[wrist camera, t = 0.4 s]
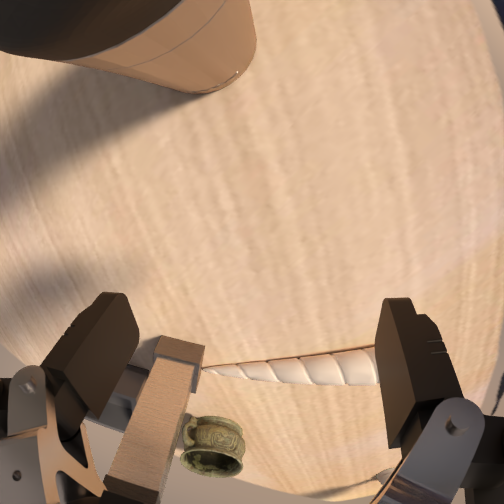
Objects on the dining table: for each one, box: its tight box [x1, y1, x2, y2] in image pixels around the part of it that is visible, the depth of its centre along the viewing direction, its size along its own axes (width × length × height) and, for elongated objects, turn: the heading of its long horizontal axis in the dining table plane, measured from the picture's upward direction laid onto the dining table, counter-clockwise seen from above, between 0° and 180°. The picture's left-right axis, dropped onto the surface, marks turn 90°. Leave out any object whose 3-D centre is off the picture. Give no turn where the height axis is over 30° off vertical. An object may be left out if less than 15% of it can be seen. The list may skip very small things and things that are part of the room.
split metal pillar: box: [103, 335, 205, 504], centre depth 25 cm, size 5×5×20 cm
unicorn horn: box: [202, 347, 380, 386], centre depth 32 cm, size 5×24×5 cm, turn 93°
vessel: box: [180, 416, 245, 478], centre depth 37 cm, size 12×9×6 cm
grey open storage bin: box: [84, 364, 149, 433], centre depth 35 cm, size 9×9×5 cm
